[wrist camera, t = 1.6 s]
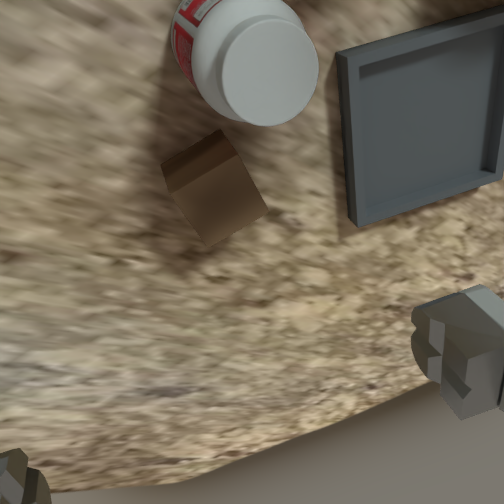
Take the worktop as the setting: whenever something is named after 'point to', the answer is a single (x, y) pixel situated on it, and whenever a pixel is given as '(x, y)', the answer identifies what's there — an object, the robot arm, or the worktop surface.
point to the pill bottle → (246, 58)
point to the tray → (422, 115)
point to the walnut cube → (213, 188)
